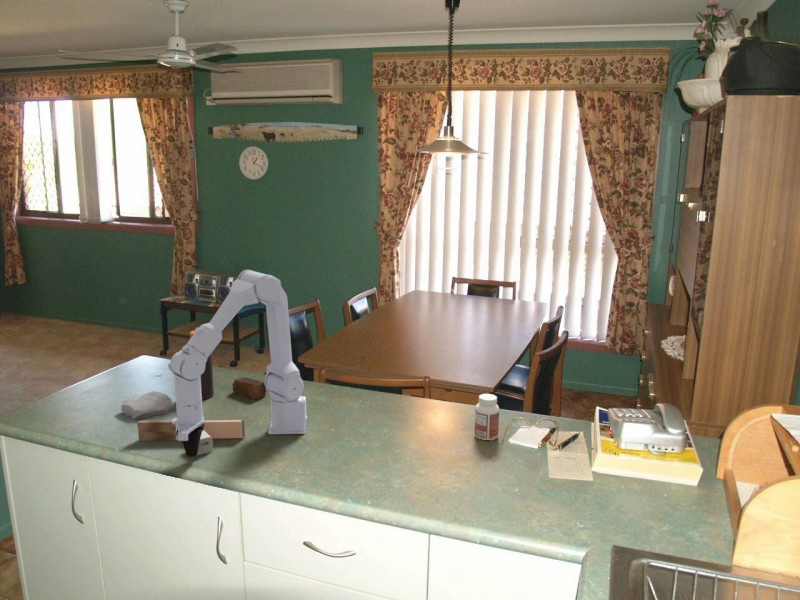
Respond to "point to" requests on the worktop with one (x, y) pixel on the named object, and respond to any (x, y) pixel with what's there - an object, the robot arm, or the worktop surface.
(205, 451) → the usb wall charger
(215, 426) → the light wood thin slab
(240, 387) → the brick
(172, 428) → the brown wooden board
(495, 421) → the pill bottle
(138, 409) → the stone block
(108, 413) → the worktop surface
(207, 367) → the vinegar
